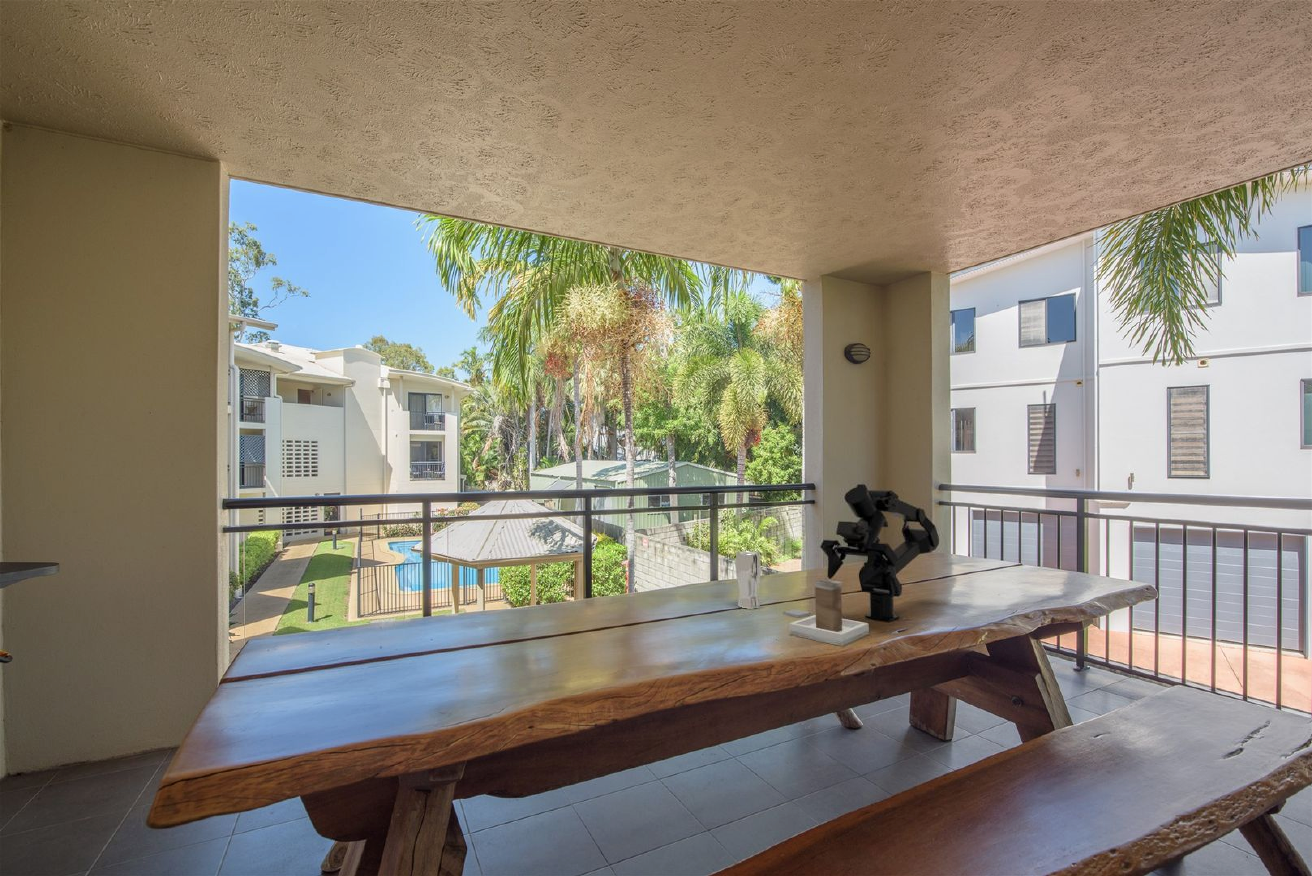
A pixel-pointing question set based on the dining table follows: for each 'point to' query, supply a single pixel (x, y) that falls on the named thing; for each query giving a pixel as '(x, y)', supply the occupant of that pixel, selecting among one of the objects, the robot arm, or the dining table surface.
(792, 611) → the slate tile
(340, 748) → the dining table surface
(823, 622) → the brown rectangular block
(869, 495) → the robot arm
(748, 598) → the beer glass
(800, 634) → the tray
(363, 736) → the dining table surface
